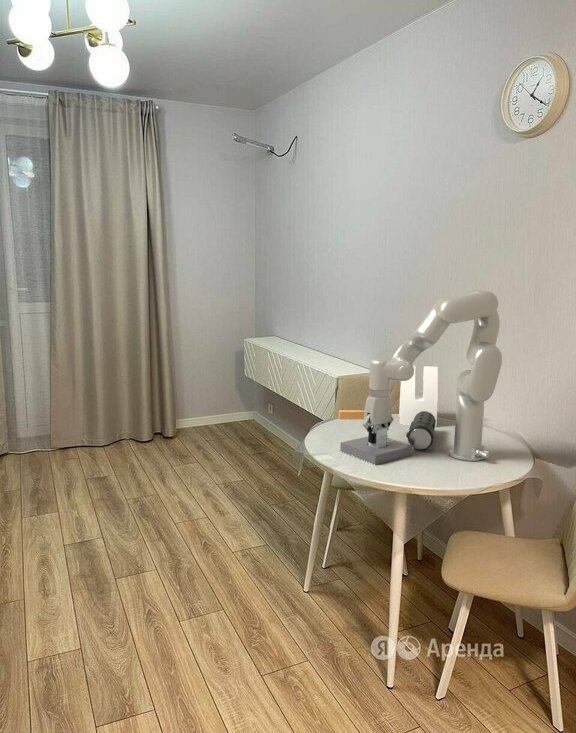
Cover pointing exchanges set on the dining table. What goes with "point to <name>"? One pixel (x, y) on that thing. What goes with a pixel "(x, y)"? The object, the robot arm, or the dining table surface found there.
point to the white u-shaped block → (419, 396)
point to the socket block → (376, 450)
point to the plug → (380, 437)
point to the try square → (352, 414)
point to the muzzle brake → (421, 431)
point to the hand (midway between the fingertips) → (377, 441)
